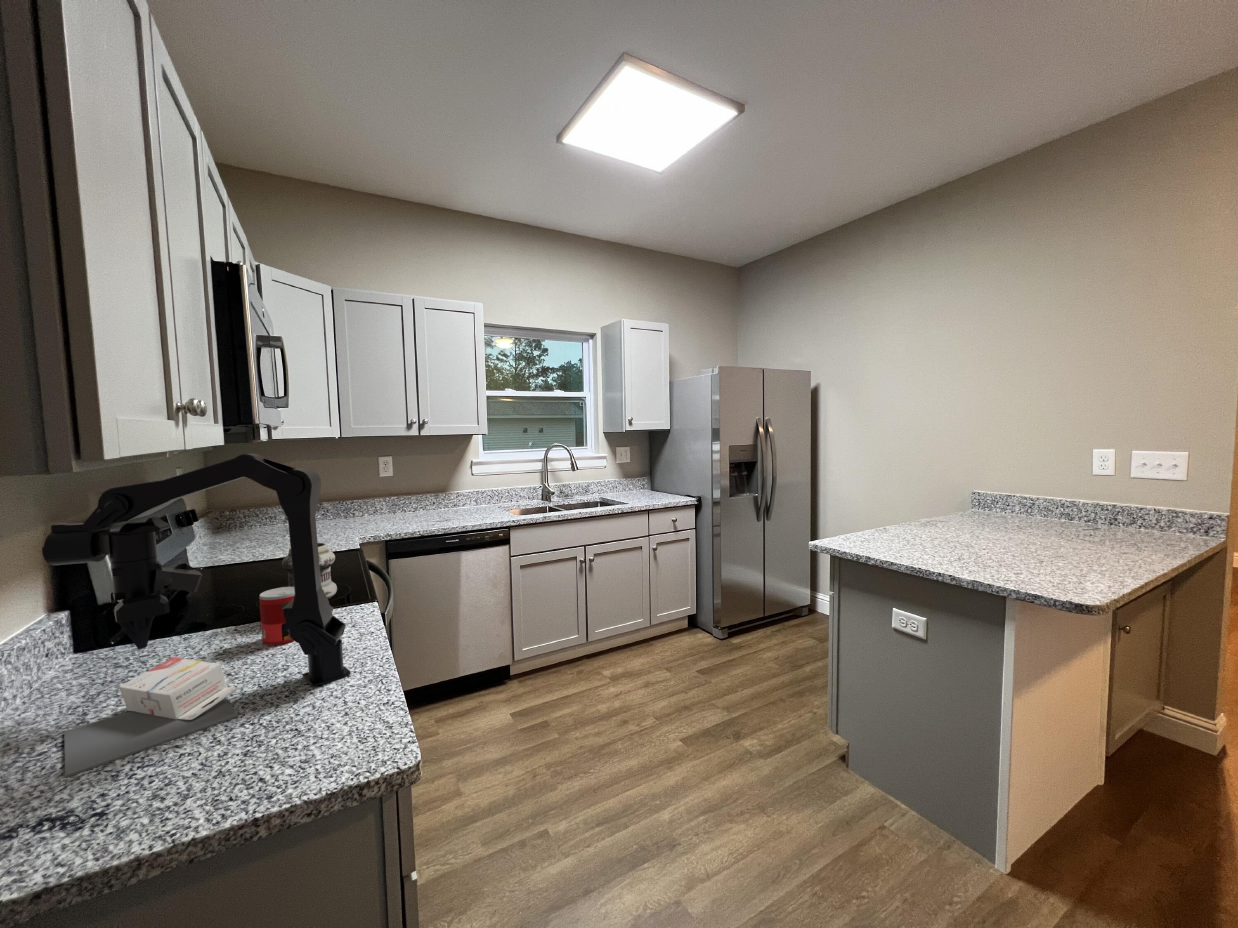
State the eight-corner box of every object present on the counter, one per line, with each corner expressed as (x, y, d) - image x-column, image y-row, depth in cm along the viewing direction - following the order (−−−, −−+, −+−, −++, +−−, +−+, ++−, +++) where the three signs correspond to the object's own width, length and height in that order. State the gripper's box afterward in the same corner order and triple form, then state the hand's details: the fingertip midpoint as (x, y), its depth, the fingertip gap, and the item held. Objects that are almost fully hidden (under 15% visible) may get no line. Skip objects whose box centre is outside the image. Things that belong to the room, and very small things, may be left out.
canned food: (289, 645, 110) (285, 596, 109) (253, 646, 110) (249, 597, 110) (311, 631, 118) (308, 586, 117) (277, 632, 118) (274, 586, 117)
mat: (238, 716, 82) (237, 714, 82) (65, 777, 68) (65, 775, 68) (217, 685, 93) (217, 684, 93) (64, 732, 78) (64, 731, 78)
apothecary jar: (330, 618, 127) (326, 548, 125) (276, 624, 123) (271, 552, 122) (343, 603, 138) (339, 538, 137) (294, 608, 135) (289, 542, 134)
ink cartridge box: (173, 654, 91) (235, 663, 87) (180, 678, 92) (242, 688, 88) (116, 686, 83) (182, 697, 79) (125, 711, 84) (191, 724, 80)
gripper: (205, 556, 85) (212, 646, 86) (187, 543, 98) (193, 621, 99) (112, 571, 77) (121, 670, 78) (105, 554, 89) (113, 639, 90)
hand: (142, 647), depth 86 cm, fingers closed
